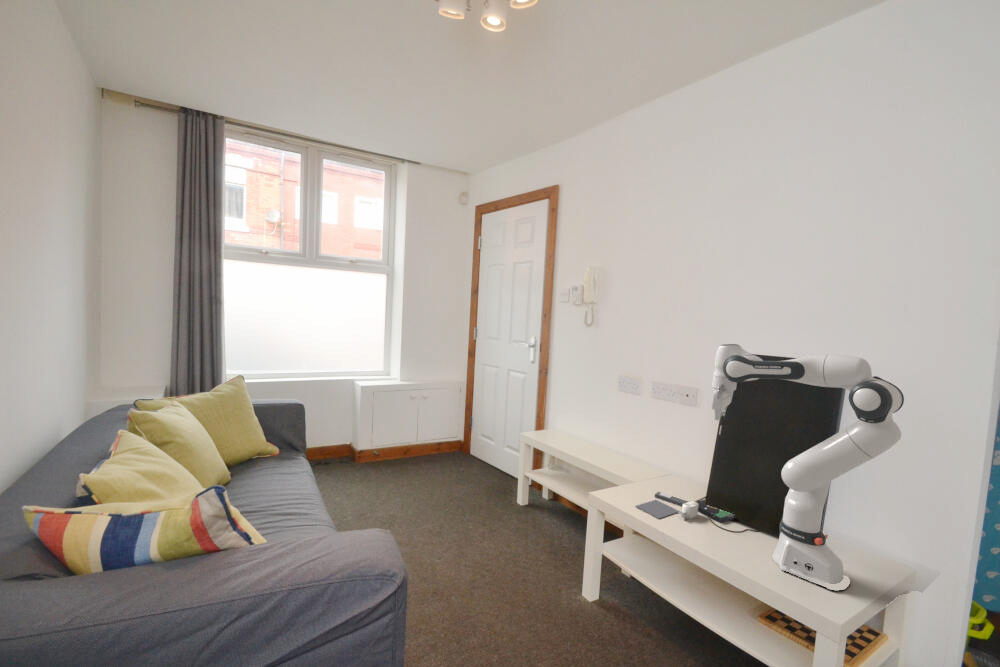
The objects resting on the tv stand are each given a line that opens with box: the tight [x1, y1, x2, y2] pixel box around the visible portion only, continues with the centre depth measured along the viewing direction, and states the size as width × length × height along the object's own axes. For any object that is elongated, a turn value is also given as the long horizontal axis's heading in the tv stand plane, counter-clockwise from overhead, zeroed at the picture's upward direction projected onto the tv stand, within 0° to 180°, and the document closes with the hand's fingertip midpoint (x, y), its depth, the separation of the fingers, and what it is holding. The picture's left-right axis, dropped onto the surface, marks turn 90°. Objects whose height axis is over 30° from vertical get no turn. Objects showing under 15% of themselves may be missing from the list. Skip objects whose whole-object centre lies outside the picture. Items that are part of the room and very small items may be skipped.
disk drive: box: [696, 499, 736, 524], centre depth 197 cm, size 10×3×15 cm
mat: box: [634, 499, 679, 520], centre depth 196 cm, size 12×14×1 cm
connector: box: [678, 500, 699, 520], centre depth 192 cm, size 4×11×5 cm, turn 125°
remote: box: [654, 491, 689, 507], centre depth 206 cm, size 15×4×2 cm, turn 51°
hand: (719, 417), depth 184 cm, fingers open, 8 cm apart
